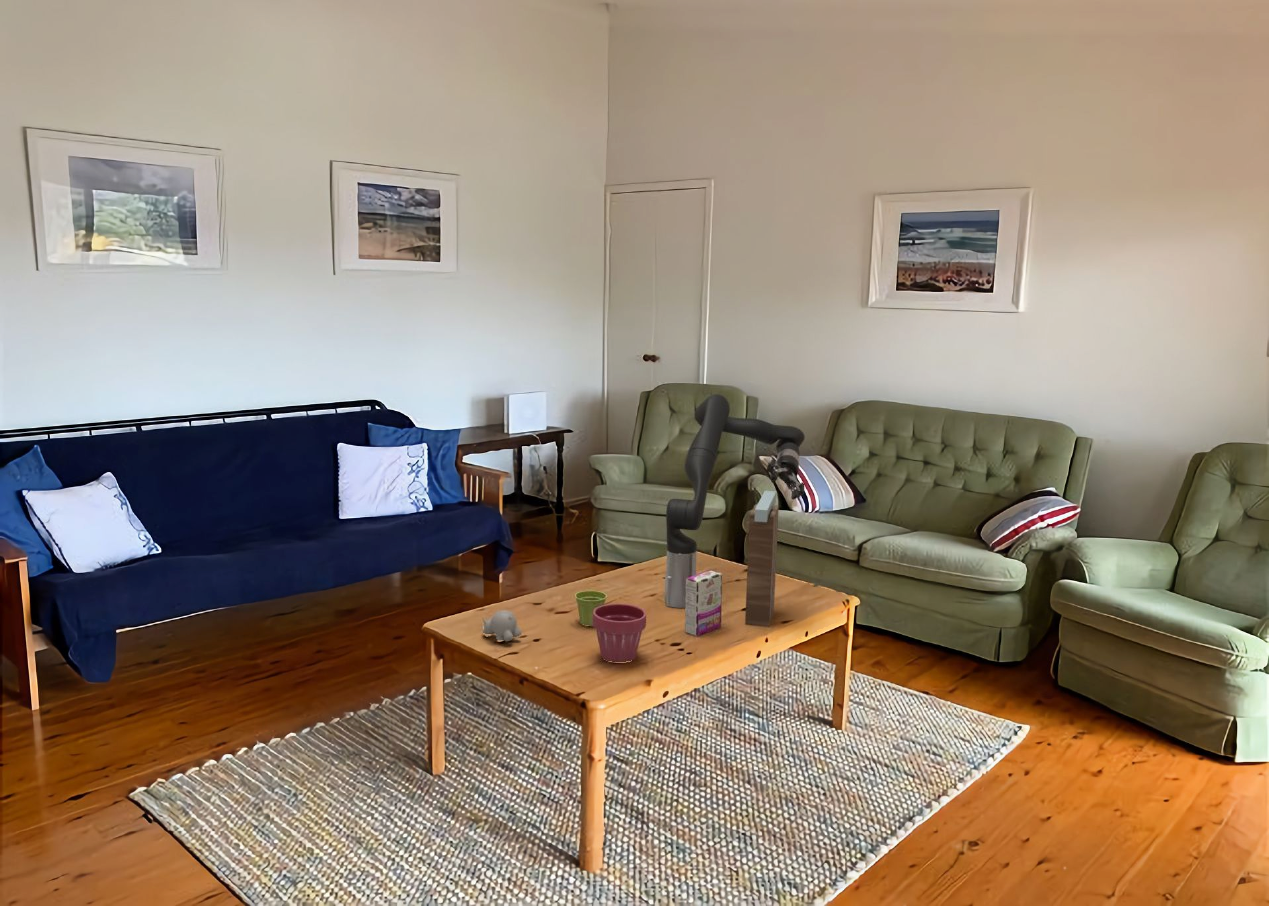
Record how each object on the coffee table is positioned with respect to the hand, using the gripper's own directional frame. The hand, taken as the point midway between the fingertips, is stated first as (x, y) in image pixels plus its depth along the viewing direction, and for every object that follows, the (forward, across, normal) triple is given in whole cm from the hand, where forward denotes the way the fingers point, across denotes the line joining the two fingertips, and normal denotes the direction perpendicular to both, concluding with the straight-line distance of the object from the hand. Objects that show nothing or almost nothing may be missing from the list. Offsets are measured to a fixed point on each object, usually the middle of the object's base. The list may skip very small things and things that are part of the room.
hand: (784, 489), depth 301 cm
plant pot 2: (+70, -20, +37) cm, 81 cm away
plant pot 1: (+48, -25, +51) cm, 74 cm away
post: (+31, +14, +23) cm, 42 cm away
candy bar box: (+45, 0, +30) cm, 54 cm away
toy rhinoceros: (+66, -45, +61) cm, 100 cm away
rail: (+18, -5, +1) cm, 19 cm away
